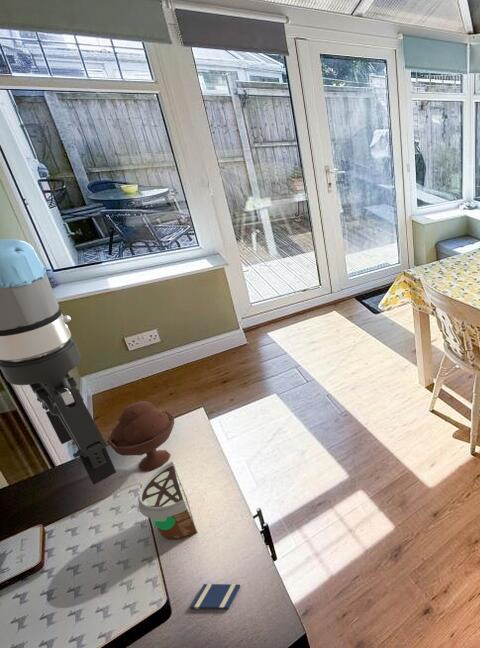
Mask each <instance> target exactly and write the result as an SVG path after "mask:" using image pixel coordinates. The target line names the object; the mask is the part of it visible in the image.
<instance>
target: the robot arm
mask: <svg viewBox="0 0 480 648" xmlns="http://www.w3.org/2000/svg"><path fill="white" fill-rule="evenodd" d="M47 272H48V271H47V268H46V267H45V265H44V264H43V263H42V261H41V259H40V258H39V256H38V254H37V252H36V251H35V248H34V247H33V245H31V244H30V243H28V242H27V241H24V240H20V239H16V238H15V239H14V238H2V239H1V238H0V371H1V373H2V375H3V377H4V378H5V380H6V382H8V384H11V385H15V386H29V387H30V389H31V390H32V392H33V394H35V395H36V401H37V402H39V403H41V408H42V409H43V410H45V414H46V416H47V418H48V420H49V423H50V425H51V427H52V429H53V430H54V432H55V434H56V436H57V438H58V440H59V442H60V444H61V445H63V444H66V443H68V442H70V441H73V444H74V445H75V446H76V448H77V450H76V452H73V453H72V457H73V458H74V459H77V458H79V459H80V461H81V463H82V465H83V467H84V470H85V471H86V474H87V475H88V477H89V480H90V482H91V484H92V485H94V486H95V485H96V484H98V483H100V482H102V481H104V480H105V479H107V478H109V477H111V476H112V475H115V474H116V473H117V470H116V468H115V465H114V463H113V461H112V459H111V457H110V455H109V453H108V451H107V447H108V443H107V440H105V438H104V437H103V435H102V433H101V431H100V429H99V428H98V426H97V424H96V422H95V419H94V418H93V417H92V414H91V412H90V410H89V409H88V407H87V405H86V403H85V402H84V398H83V396H82V394H81V393H80V389H79V388H78V383H77V381H76V380H75V378H74V376H71V375H70V374H69V372H71V371H72V370H74V369H75V368H76V367H77V366H78V365H79V364H80V363H81V360H82V356H81V353H80V350H79V349H78V346H77V343H76V341H75V339H74V338H73V337H72V333H71V330H70V328H69V326H68V325H67V324H66V323H69V322H71V321H72V318H71V316H70V315H66V314H65V315H64V314H63V312H62V309H61V307H60V305H59V302H58V300H57V297H56V295H55V292H54V290H53V288H52V285H51V281H50V279H49V277H48V274H47Z"/></svg>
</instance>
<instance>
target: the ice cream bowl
mask: <svg viewBox="0 0 480 648" xmlns="http://www.w3.org/2000/svg"><path fill="white" fill-rule="evenodd" d="M174 425H175V417H174V416H173V414H171V413H170V412H169V411H167V410H161V409H158V408H156V406H155V405H154V404H153V403H152V402H151V401H144V400H141V401H136V402H133V403H131V404H129V405H127V406H126V407H125V408H124V409H123V410H122V411H121V412H120V415H119V416H118V422H117V423H116V424H115V426H114V427H113V428H112V430H111V433H110V436H108V439H107V440H106V442H107V445H109V446H110V447H111V448H112V450H114V451H115V453H116V454H117V455H120V456H125V457H126V456H129V457H130V456H142V455H145V454H146V455H145V456H144V457H143V458H141V460H140V462H139V465H138V469H140V471H141V472H152V471H154V470H156V469H160V468H161V467H163V466H164V465H166V464H167V462H168V461H169V460H170V458H171V453H170V452H169V451H168V450H167V449H159V450H157V449H158V448H159V447H160V446H162V445H163V444H164V443H166V442H167V441H168V439H169V438H170V435H171V434H172V432H173V428H174Z"/></svg>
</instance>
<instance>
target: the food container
mask: <svg viewBox="0 0 480 648" xmlns="http://www.w3.org/2000/svg"><path fill="white" fill-rule="evenodd" d="M137 500H138V510H139V512H140V513H141V515H143V516H144V517H146V518H149V519H151V521H152V523H153V524H154V526H155V527H156V529H157V531H158V532H159V533H160V535H161V536H162V538H163V539H165V540H168V541H179V540H184V539H187V538H190V537H192V536H194V535H196V534H197V533H198V530H197V527H196V523H195V520H194V516H193V513H192V510H191V506H190V503H189V500H188V496H187V495H186V492H185V490H184V486H183V484H182V482H181V480H180V477H179V475H178V472H177V469H176V466H175V464H174V462H173V461H170V462H169V463H165V464H164V465H162V466H161V467H159V468H158V469H157V470H156V471H155V472H153V473H152V474H151V475H150V476H149V477H148V478H147V479H146V481H145V482H144V483H143V485H141V488H140V491H139V493H138V499H137Z"/></svg>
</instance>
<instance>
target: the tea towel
mask: <svg viewBox="0 0 480 648" xmlns="http://www.w3.org/2000/svg"><path fill="white" fill-rule="evenodd" d="M240 588H241V585H240V584H238V583H237V584H236V583H234V584H233V583H231V584H230V583H228V584H227V583H204V584H203V585H202V587H201V588H200V590H199V592H198V594H197V595H196V597H195V599H194V600H193V601H192V603H191V605H190V609H191V610H229V609H230V607H231V605H232V604H233V601H234V600H235V598H236V595H237V594H238V592H239V590H240Z"/></svg>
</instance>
